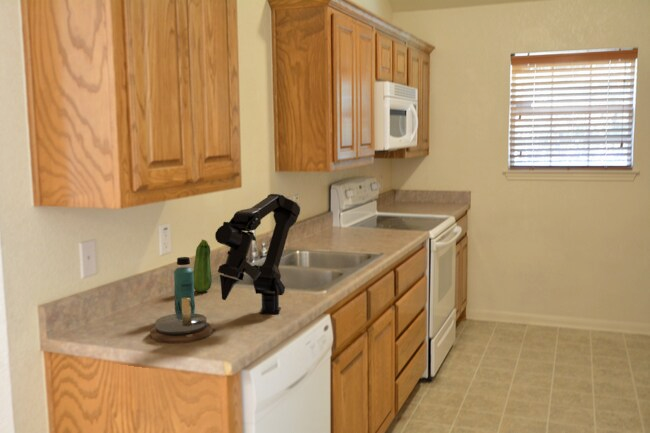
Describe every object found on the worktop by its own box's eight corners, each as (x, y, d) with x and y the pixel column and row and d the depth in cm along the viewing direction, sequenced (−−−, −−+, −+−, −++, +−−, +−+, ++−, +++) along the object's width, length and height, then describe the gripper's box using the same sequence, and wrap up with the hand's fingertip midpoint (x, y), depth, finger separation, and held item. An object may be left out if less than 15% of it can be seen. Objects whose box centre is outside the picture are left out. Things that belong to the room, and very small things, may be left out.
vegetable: (189, 291, 255) (187, 239, 252) (206, 288, 259) (204, 237, 257) (198, 295, 249) (196, 241, 247) (215, 291, 254) (213, 239, 251)
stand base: (144, 330, 206) (144, 324, 206) (201, 321, 215) (201, 316, 214) (159, 346, 191) (159, 340, 190) (220, 336, 199) (220, 331, 199)
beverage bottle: (171, 317, 220) (168, 257, 217) (188, 313, 224) (186, 254, 222) (182, 321, 215) (179, 260, 212) (199, 317, 220) (197, 257, 217)
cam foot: (150, 325, 205) (148, 292, 204) (197, 318, 212) (196, 285, 211) (163, 338, 192) (161, 303, 191) (213, 330, 199) (212, 296, 198)
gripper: (261, 255, 199) (246, 306, 196) (265, 260, 217) (251, 307, 215) (225, 245, 199) (209, 296, 197) (232, 250, 217) (218, 297, 215)
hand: (223, 299), depth 206 cm, fingers closed
